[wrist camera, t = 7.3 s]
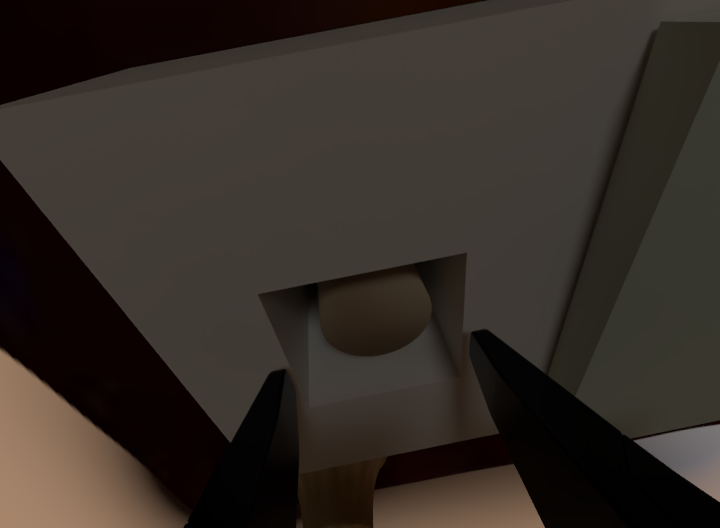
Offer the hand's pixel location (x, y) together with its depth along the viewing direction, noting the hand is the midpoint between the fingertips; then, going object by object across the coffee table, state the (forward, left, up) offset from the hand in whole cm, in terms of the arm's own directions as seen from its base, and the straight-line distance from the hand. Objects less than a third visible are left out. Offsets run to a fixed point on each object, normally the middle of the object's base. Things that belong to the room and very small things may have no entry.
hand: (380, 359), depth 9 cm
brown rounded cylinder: (0, 0, -7) cm, 7 cm away
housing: (-5, 0, -7) cm, 9 cm away
